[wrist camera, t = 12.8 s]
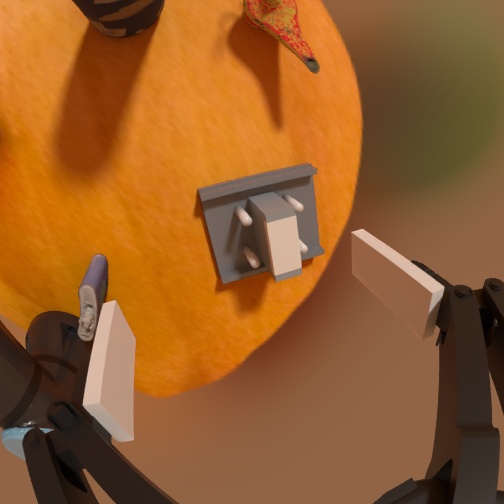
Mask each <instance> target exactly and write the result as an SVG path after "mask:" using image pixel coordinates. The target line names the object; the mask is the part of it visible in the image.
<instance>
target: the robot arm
mask: <svg viewBox="0 0 504 504" xmlns="http://www.w3.org/2000/svg"><path fill="white" fill-rule="evenodd" d="M351 235H352V274H353V275H354V276H355V277H356V278H357V279H358V280H360V282H362V283H363V284H364V285H365V286H366V287H367V288H368V289H369V290H370V291H371V292H372V293H373V294H374V295H375V296H376V297H377V298H378V299H379V300H381V302H383V303H384V304H385V305H386V306H387V307H388V308H389V309H390V310H391V311H392V312H393V313H394V314H395V315H396V316H397V317H398V318H399V319H400V320H401V321H402V322H403V323H404V324H405V325H406V326H407V327H408V328H409V329H410V330H411V331H412V332H413V333H414V334H415V335H416V336H417V337H418V338H419V339H420V340H421V341H423V340H424V339H426V338H428V337H430V336H431V335H433V333H434V329H435V326H436V325H437V326H438V327H439V328H440V332H439V336H438V339H437V342H436V346H438V343H439V394H438V409H437V422H436V431H435V439H434V448H433V454H432V459H431V462H430V465H429V467H428V469H427V472H426V476H425V479H422V480H417V481H414V480H413V479H412V478H410V479H409V480H407V481H405V482H404V483H402V484H400V485H399V486H397V487H395V488H393V489H392V490H390V491H388V492H386V493H385V494H384V495H383V496H382V497H380V498H379V499H378V500H377V501H375V502H374V503H373V504H504V491H500V490H497V484H498V473H499V453H500V452H499V451H500V434H499V430H498V428H494V427H493V425H492V407H491V406H492V405H491V389H490V378H489V371H490V374H491V377H492V380H493V382H494V385H495V388H496V391H497V394H498V397H499V401H500V404H501V407H502V411H503V414H504V283H503V282H502V281H501V280H499V279H496V278H489V279H486V280H485V282H484V286H483V288H482V289H478V290H472V289H471V288H469V287H467V286H465V285H456V286H453V285H451V284H450V283H449V282H447V281H446V280H445V279H443V278H441V277H440V276H439V275H438V274H435V272H434V271H432V270H430V269H429V268H428V267H427V266H425V265H424V264H422V263H420V262H417V261H414V260H413V261H408V260H407V259H406V258H404V257H403V256H402V255H400V254H399V253H397V252H395V251H394V250H393V249H391V248H390V247H389V246H387V245H386V244H384V243H383V242H381V241H380V240H378V239H377V238H375V237H374V236H372V235H371V234H369V233H368V232H366V231H365V230H363V229H361V230H357V231H354V232H351ZM79 320H80V318H79V317H77V316H74V315H72V314H69V313H66V312H60V311H48V312H44V313H41V314H39V315H38V316H36V317H35V318H34V319H33V321H32V322H31V324H30V326H29V328H28V331H27V334H26V349H25V348H24V347H23V346H22V345H21V344H20V343H19V342H18V341H17V340H16V338H15V337H14V336H13V335H12V334H11V333H10V331H9V330H8V329H7V328H6V327H5V325H4V324H3V323H2V322H1V320H0V428H1V429H2V430H3V431H2V433H1V437H2V443H3V445H4V446H5V447H6V448H7V449H8V450H9V451H10V452H11V453H13V454H14V455H16V456H18V457H20V458H22V459H24V460H26V463H27V467H28V471H29V475H30V478H31V482H32V485H33V488H34V492H35V495H36V498H37V501H38V504H99V503H98V501H97V499H96V497H95V495H94V493H93V491H92V489H91V487H90V485H89V483H88V481H87V479H86V477H85V474H84V472H83V470H82V469H84V468H85V469H86V470H87V471H88V472H89V473H90V475H91V476H92V477H93V478H94V480H95V481H96V482H97V483H98V484H99V485H100V486H101V488H102V489H103V490H104V491H105V492H106V493H107V494H108V495H109V497H110V498H111V499H112V500H113V501H114V502H115V503H116V504H179V503H178V502H176V501H175V500H174V499H173V498H171V497H170V496H169V495H167V494H166V493H165V492H164V491H162V490H161V489H160V488H159V487H158V486H156V485H155V484H154V483H153V482H152V481H151V480H149V479H148V478H147V477H146V476H145V475H144V474H143V473H141V472H140V471H139V470H138V469H137V468H136V467H135V466H134V465H133V464H132V463H131V462H130V461H128V459H126V458H125V457H124V456H123V455H122V454H121V453H120V452H119V451H118V450H117V449H116V448H115V447H114V446H113V445H112V444H111V436H112V437H113V438H114V439H115V440H116V441H118V442H123V441H131V440H134V417H133V399H134V362H135V343H136V339H135V337H134V335H133V333H132V331H131V329H130V327H129V325H128V324H127V322H126V320H125V318H124V316H123V314H122V312H121V310H120V308H119V306H118V304H117V301H116V300H114V301H111V302H107V303H104V304H103V306H102V310H101V314H100V318H99V322H98V326H97V331H96V332H95V335H94V338H93V339H92V340H91V341H83V340H82V339H80V337H79V336H78V334H77V332H78V327H79V322H78V321H79ZM496 320H497V323H496Z"/></svg>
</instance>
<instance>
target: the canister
mask: <svg viewBox="0 0 504 504" xmlns="http://www.w3.org/2000/svg"><path fill="white" fill-rule="evenodd" d="M72 1H73V2H74V3H75V4H76V5H77V6H78V8H79V9H80V10H81V11H82V13H83V14H84V15H85V16H86V17H87V19H88V20H89V21H90V22H91V23H92V24H93V25H94V27H95V28H96V29H97V30H98V31H99V32H101V33H102V34H104V35H107V36H110V37H116V38H122V37H129V36H133V35H136V34H138V33H140V32H142V31H144V30H146V29H147V28H148V27H150V26H151V25H152V24H153V23H154V22H155V21H156V20H157V19H158V17H159V16H160V14H161V12H162V10H163V7H164V1H165V0H72Z"/></svg>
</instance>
